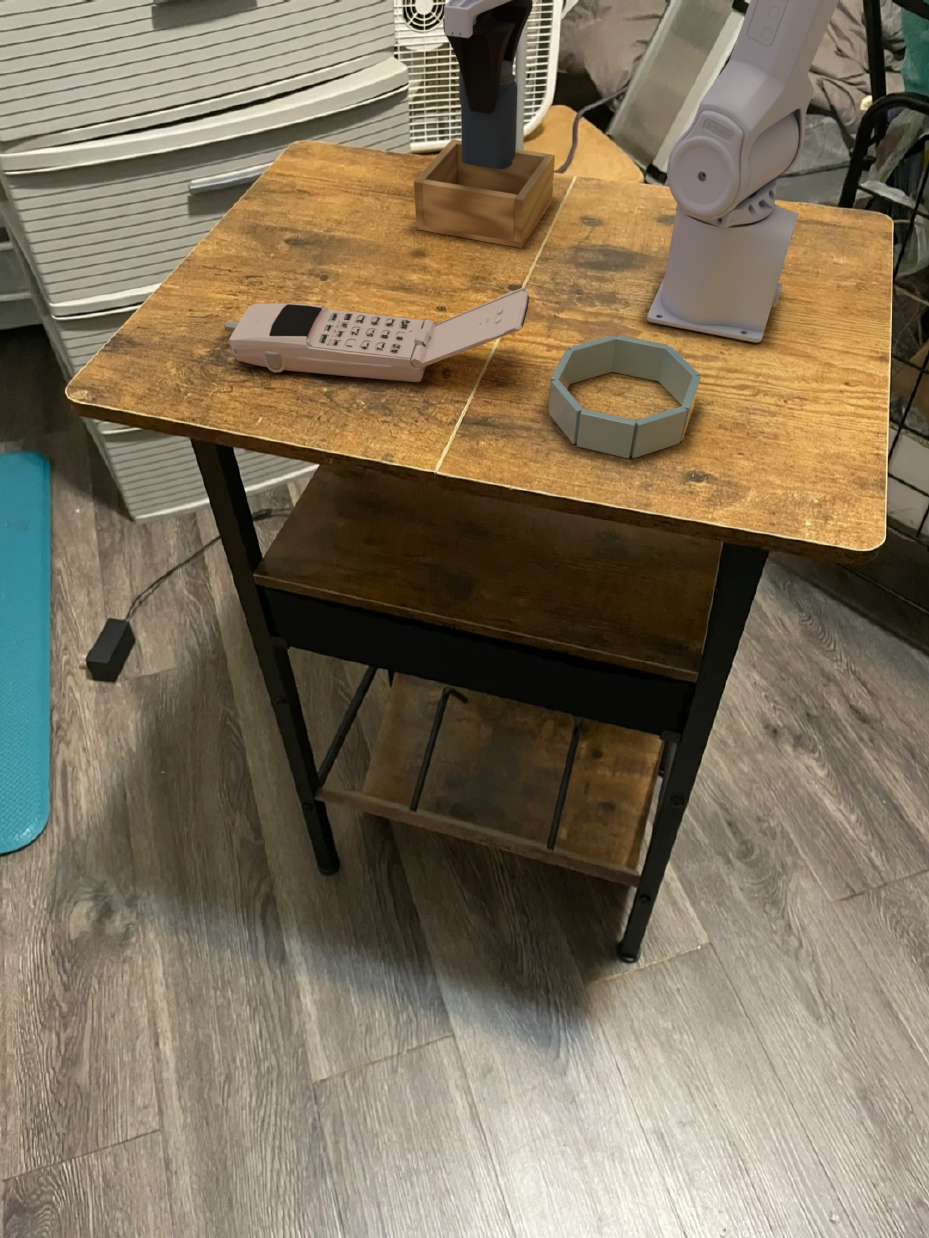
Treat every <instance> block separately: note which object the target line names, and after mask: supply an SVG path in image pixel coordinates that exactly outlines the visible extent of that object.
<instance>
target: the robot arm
mask: <svg viewBox="0 0 929 1238" xmlns="http://www.w3.org/2000/svg"><path fill="white" fill-rule="evenodd" d="M839 1H840V0H750V1H749V3H748V7H747V9H746V12H745V15H744V18H743V21H742V24H741V25H740V30H739V32H738V35H737V38H736V41H735V43H734V47H733V49H732V52H731V55H730V58H729V61H728V62H727V63H726V65H725V66H724V68H723V70H722V71H721V72H720V74H719V75H718V76H717V78H716V79H715V81H714V82H713V83H712V84H711V86H710V87H709V89H708V90H707V91H706V93H705V94H704V96H703V97H702V99H701V100H700V102H699V104H698V107H697V110H696V113H695V116H694V119H693V120H692V123H691V124H690V126H689V127H688V128H687V129H686V131H685V132H683V134H682V135H681V136H680V137H679V138H678V139H677V140H676V142H674V144H673V146H672V148H671V150H670V153H669V155H668V159H667V165H666V177H667V183H668V187H669V190H670V194H671V196H672V198H673V200H674V201H675V202H676V205H675V216H674V221H673V227H672V232H671V238H670V244H669V249H668V255H667V259H666V266H665V272H664V277H663V279H662V281H661V283H660V285H659V288H658V290H657V293H656V295H655V297H654V299H653V301H652V303H651V305H650V308H649V310H648V312H647V315H646V320H647V321H648V322H649V323H653V324H659V325H664V326H667V327H668V326H669V327H673V328H678V329H683V330H688V331H689V330H690V331H694V332H700V333H703V334H704V333H705V334H709V335H715V336H720V337H724V338H730V339H736V340H740V341H744V342H750V343H760V342H762V340H763V337H764V334H765V330H766V327H767V323H768V321H769V316H770V313H771V310H772V307H773V308H776V307H777V306H778V302H779V298H780V294H781V292H782V288H783V283H780V279H781V276H782V272H783V268H784V265H785V261H786V258H787V255H788V253H789V252H788V251H789V248H790V245H791V241H792V238H793V234H794V231H795V228H796V225H797V220H798V217H799V212H798V211H797V212H796V211H794V210H789V209H787V208H784V207H781V206H780V205H778V204H776V198H777V187H778V184H779V183H778V182H779V179H780V177H781V176H782V175H784V174H786V173H787V172H788V171H789V170H790V169H792V167H793V166H794V165H795V164H796V162H797V161H798V159H799V157H800V155H801V153H802V151H803V147H804V144H805V139H806V138H805V137H806V123H805V122H806V115H807V111H808V107H809V105H810V102H811V100H812V98H813V96H814V93H815V87H814V85H813V83H812V81H811V79H810V77H809V71H810V69H811V67H812V64H813V62H814V60H815V57H816V55H817V52H818V50H819V48H820V46H821V43H822V41H823V39H824V36H825V35H826V31H827V29H828V27H829V24H830V22H831V20H832V17H833V15H834V13H835V10H836V8H837V6H838V4H839ZM533 3H534V1H533V0H448V1H447V3H446V4H445V5H444V6H443V15H444V16H443V18H442V28H443V33H444V35H445V37H446V39H447V40H448V42H449V44H450V46H451V49H452V50H453V53H454V55H455V58H456V60H457V63H458V68H459V67H460V70H461V74H462V78H463V82H464V87H465V92H466V96H467V100H468V104H469V108H470V111H473V112H480V113H487V114H492V113H493V112H494V109H495V105H496V101H497V97H498V90H499V82H500V73H501V67H502V62H503V60H506V61H510V62H512V63H513V64H515V58H516V54H517V49H518V47H519V43H520V40H521V36H522V34H523V31H524V28H525V25H526V24H527V21H528V19H529V17H530V15H531V13H532V10H533V6H534V5H533Z"/></svg>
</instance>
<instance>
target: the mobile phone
mask: <svg viewBox="0 0 929 1238" xmlns="http://www.w3.org/2000/svg"><path fill="white" fill-rule="evenodd" d="M529 303H530V294H529V292H528V290H527V288H525V287H521V288H518V289H516V290H511V291H509V292H506V293H504V294H502V295H500V296H499V297H497V298H496V297H495V298H494V299H492V300H489V301H487V302H484V303H481V304H479V305H477V306H474V307H473V308H470V309H468V310H465V311H463V312H461V313H459V314H456V315H453V316H451V317H449V318H446V319H444V320H441V321H440V322H437V323H435V322H434V321H433V320H431V319H426V320H424V319H417V318H409V317H408V318H407V317H399V316H391V315H383V314H373V313H365V312H357V311H348V310H338V309H328V308H327V307H326V306H323V305H315V304H305V303H304V304H303V303H285V302H283V303H282V302H280V303H279V302H276V303H271V302H269V303H254V304H251V305H249V306H248V307H247V309H246V310H245V311H244V313H243V315H242V317H241V318H240V320H239V321H225V322H224V330H225V332H228V333H232V334H230V337H229V338H228V342H229V346H230V348H231V353H232V356H233V358H234V359H235V360H236V361H239V362H242V363H247V364H250V365H252V366H253V365H254V366H259V367H264V368H267V369H268V370H269V371H271V372H273V373H275V374H276V373H282V372H283V371H290V372H301V373H309V374H319V375H329V376H330V375H331V376H340V377H350V378H363V379H374V380H375V379H377V380H388V381H399V382H410V383H411V382H412V383H420V382H422V379H423V376H424V373H425V370H426V367H428V366H430V365H433V364H435V363H438V362H441V361H443V360H445V359H448V358H451V357H454V356H456V355H457V356H458V355H459V354H462V353H464V352H467V351H469V350H472V349H475V348H477V347H481V346H484V345H485V344H488V343H490V342H492V341H495V340H498V339H500V338H503V337H505V336H508V335H510V334H513V333H515V332H516V333H517V332H518V331H521V330H522V329H523V328H524V325H525V320H526V317H527V314H528V310H529Z"/></svg>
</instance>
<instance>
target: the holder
mask: <svg viewBox="0 0 929 1238" xmlns="http://www.w3.org/2000/svg"><path fill="white" fill-rule="evenodd" d="M555 162H556V155H555V154H551V153H547V152H538V151H533V150H525V149H519V148H516V149H515V158H514V160H513V161H512V165H511V166H510V167H509V168H506V169H493V168H487V167H480V166H474V165H470V164H465V163H462V140H459V139H453V138H452V139H451V140H450V141H449V142H448V143H447V144H446V145H445V146H444V147H443V149H442V150H441V151H440V152H439V153H438V154H437V155H436V156H435V157H434V159H433V160H432V161H431V162H430V163H429V164H428V166H427V167H425V168H424V170H423V171H421V173H420V174H419V175H418V177H417V178H416V179H415V180H413V191H414V207H415V224H416V225H415V227H416V230H419V231H424V232H430V233H435V234H441V235H447V236H451V237H458V238H464V239H468V240H474V241H480V242H485V243H491V244H496V245H502V246H507V247H513V248H519V249H522V248H523V246H524V245H525V243H526V242H527V240H528V239H529V238H530V236H531V234H532V233H533V231H534V230H535V229H536V226H538V224H539V222H540V221H541V219H542V218H543V216H545V215H544V214H545V213H546V211H548V208H549V207H550V206H551V204H552V203H553V192H554V191H553V190H554V177H555V176H554V175H555Z"/></svg>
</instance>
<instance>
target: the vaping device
mask: <svg viewBox="0 0 929 1238" xmlns="http://www.w3.org/2000/svg"><path fill="white" fill-rule="evenodd" d="M458 69H459V70H458V71H459V72H458V89H457V90H458V94H459V96H458V98H459V99H458V100H459V104H460V128H461V129H460V131H461V132H460V133H461V141H462V163H465V164H470V165H474V166H480V167H487V168H493V169H506V168H509V167H510V166H511V165H512V161H513V160H514V158H515V149H517V148H516V147H517V146H516V145H517V144H516V143H517V117H518V114H517V113H518V84H517V82H516V75H514V74H513V73H514V63H512V62H510V61H506V60H503V62H502V67H501V73H500V82H499V90H498V97H497V101H496V105H495V109H494V112H493V113H492V114H487V113H480V112H473V111H470V108H469V104H468V100H467V96H466V92H465V87H464V82H463V78H462V74H461V70H460V67H459V66H458Z"/></svg>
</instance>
